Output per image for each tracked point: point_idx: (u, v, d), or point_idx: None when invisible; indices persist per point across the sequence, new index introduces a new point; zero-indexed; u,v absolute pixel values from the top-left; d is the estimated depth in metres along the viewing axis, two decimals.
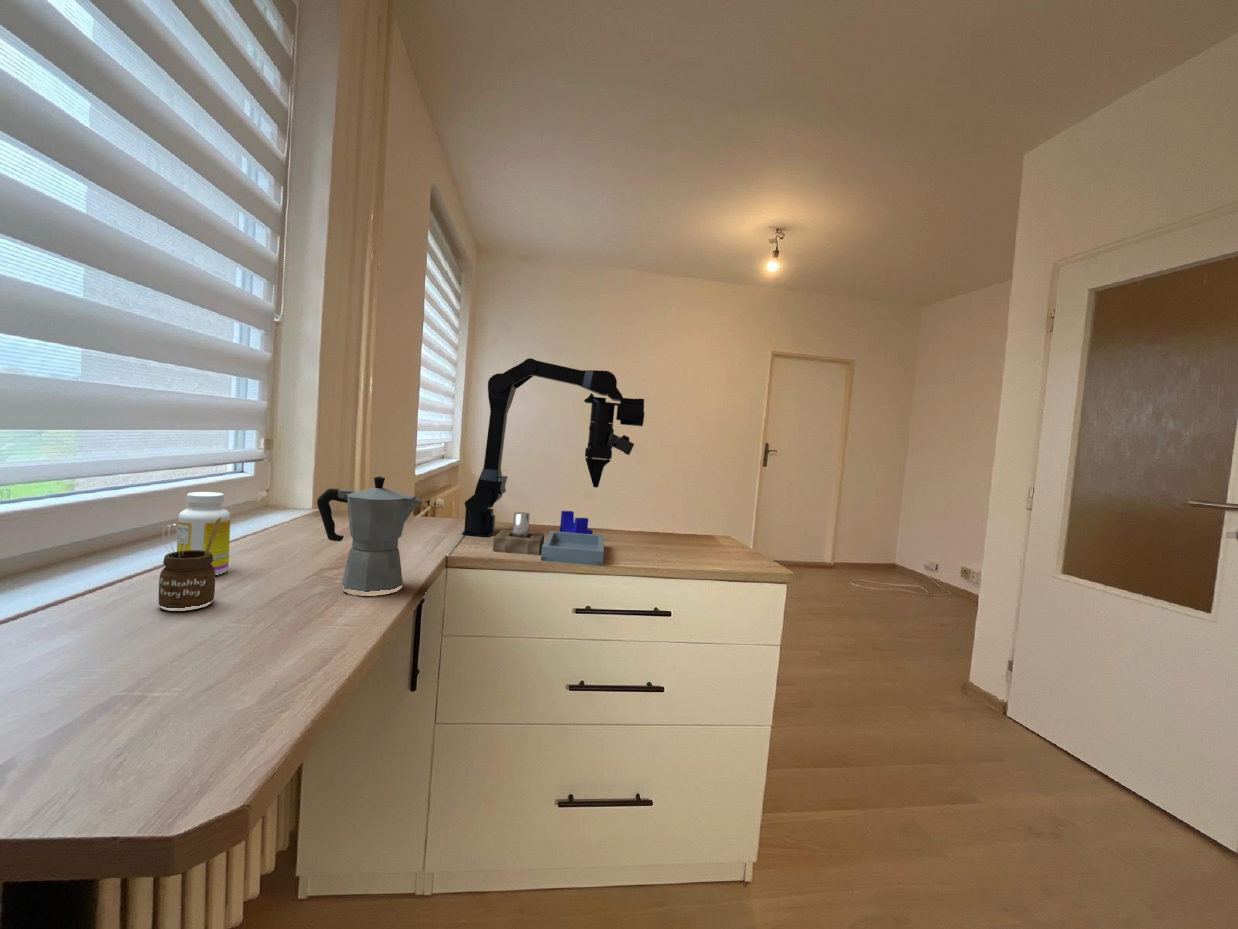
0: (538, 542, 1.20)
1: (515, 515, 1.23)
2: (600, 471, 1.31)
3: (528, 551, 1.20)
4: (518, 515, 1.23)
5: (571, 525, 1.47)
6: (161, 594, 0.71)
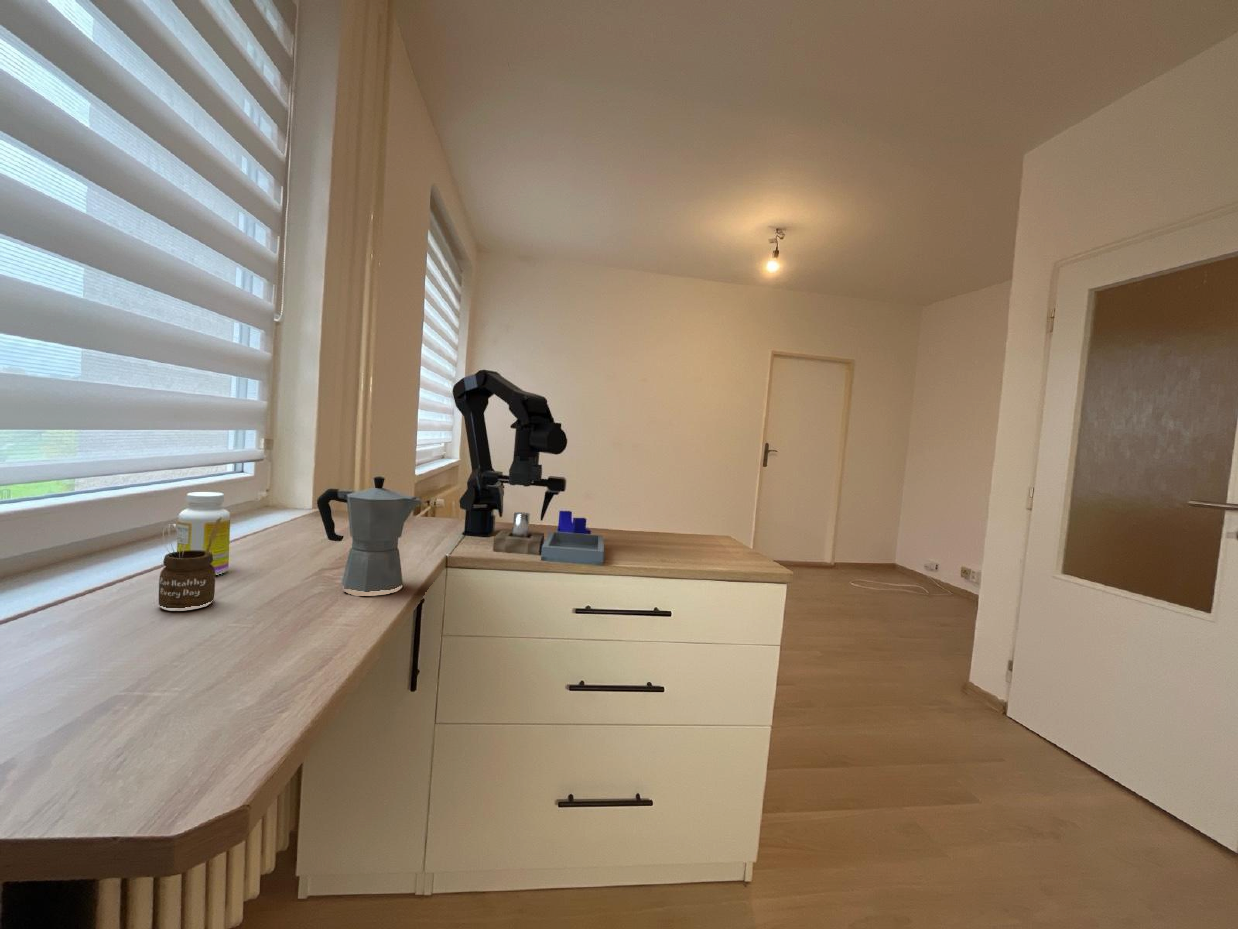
0: (538, 542, 1.20)
1: (515, 515, 1.23)
2: None
3: (528, 551, 1.20)
4: (518, 515, 1.23)
5: (569, 525, 1.46)
6: (161, 594, 0.71)
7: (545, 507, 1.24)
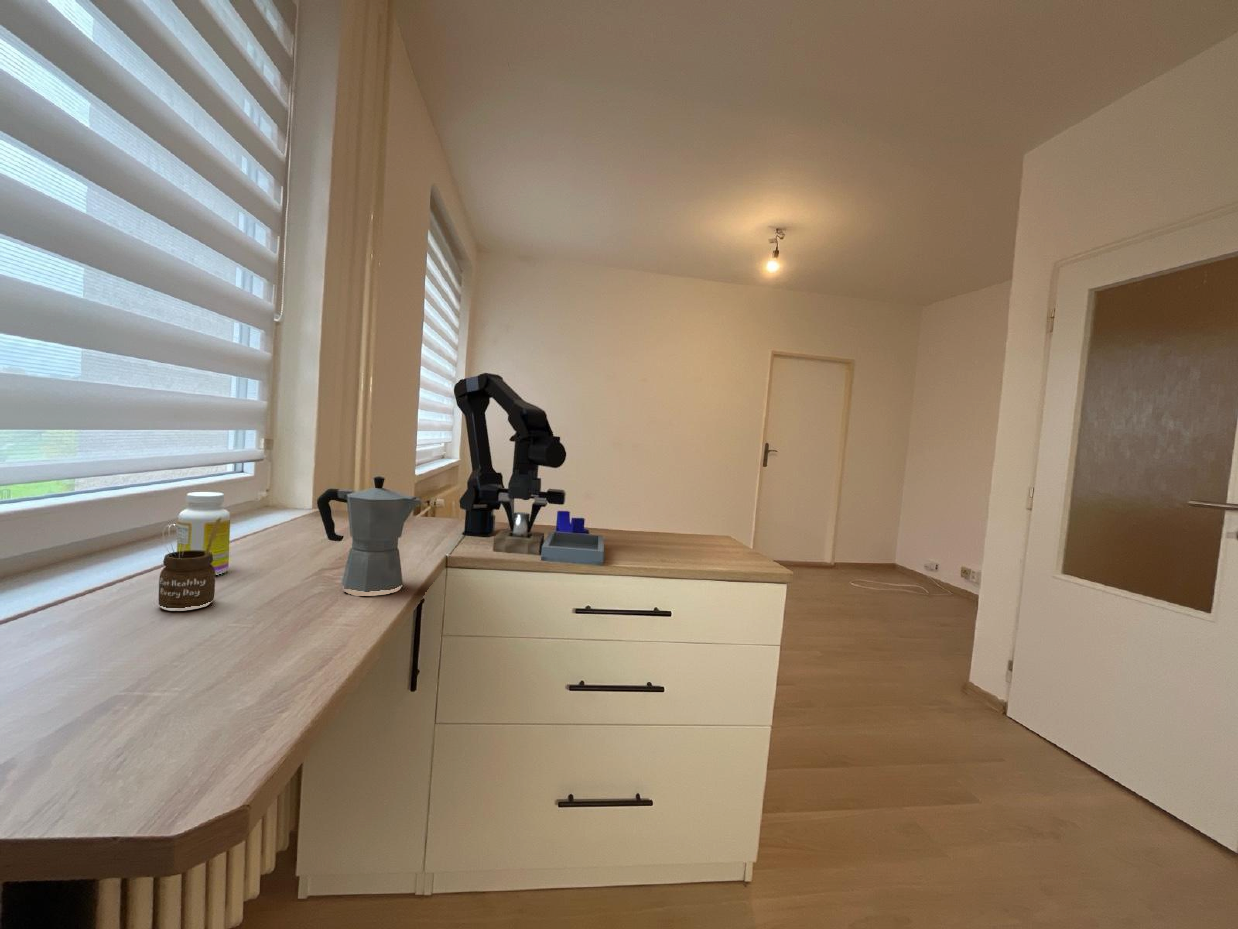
0: (538, 542, 1.20)
1: (515, 515, 1.23)
2: None
3: (528, 551, 1.20)
4: (518, 515, 1.23)
5: (567, 525, 1.46)
6: (161, 594, 0.71)
7: (532, 519, 1.24)
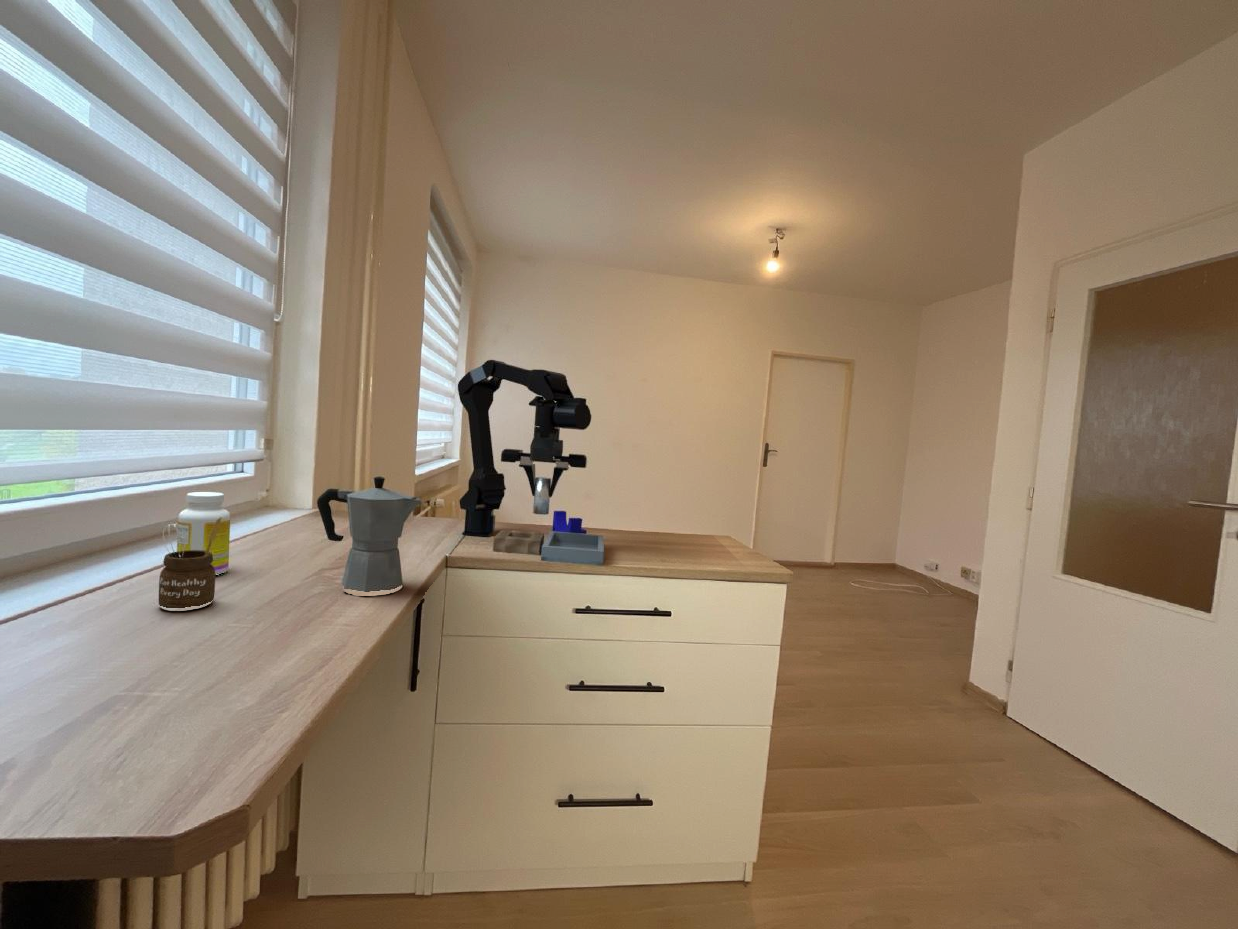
0: (538, 542, 1.20)
1: (536, 479, 1.22)
2: None
3: (528, 551, 1.20)
4: (540, 479, 1.22)
5: (564, 525, 1.46)
6: (161, 594, 0.71)
7: (554, 483, 1.23)
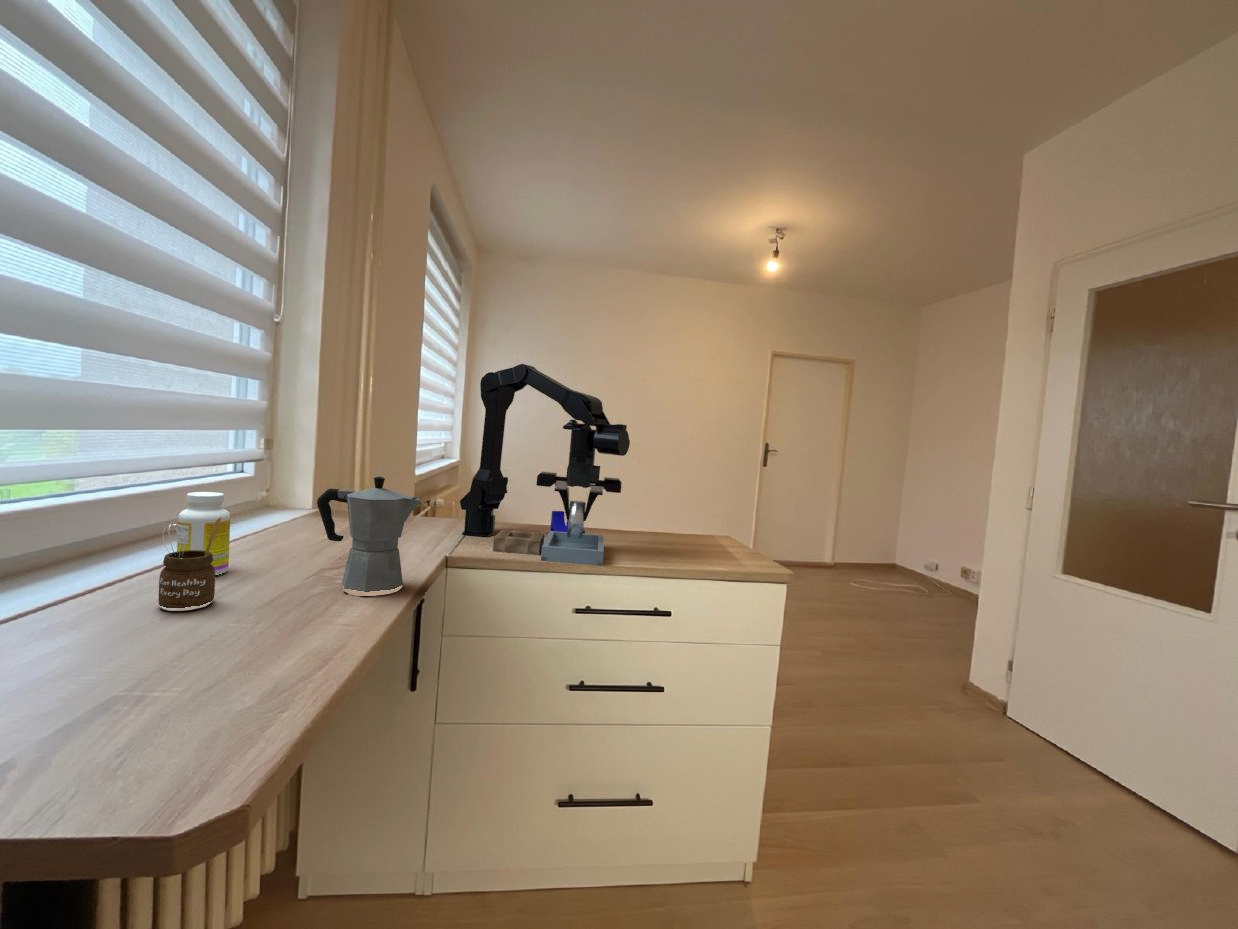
0: (538, 542, 1.20)
1: (571, 503, 1.23)
2: None
3: (528, 551, 1.20)
4: (575, 503, 1.22)
5: (562, 525, 1.45)
6: (161, 594, 0.71)
7: (589, 507, 1.23)
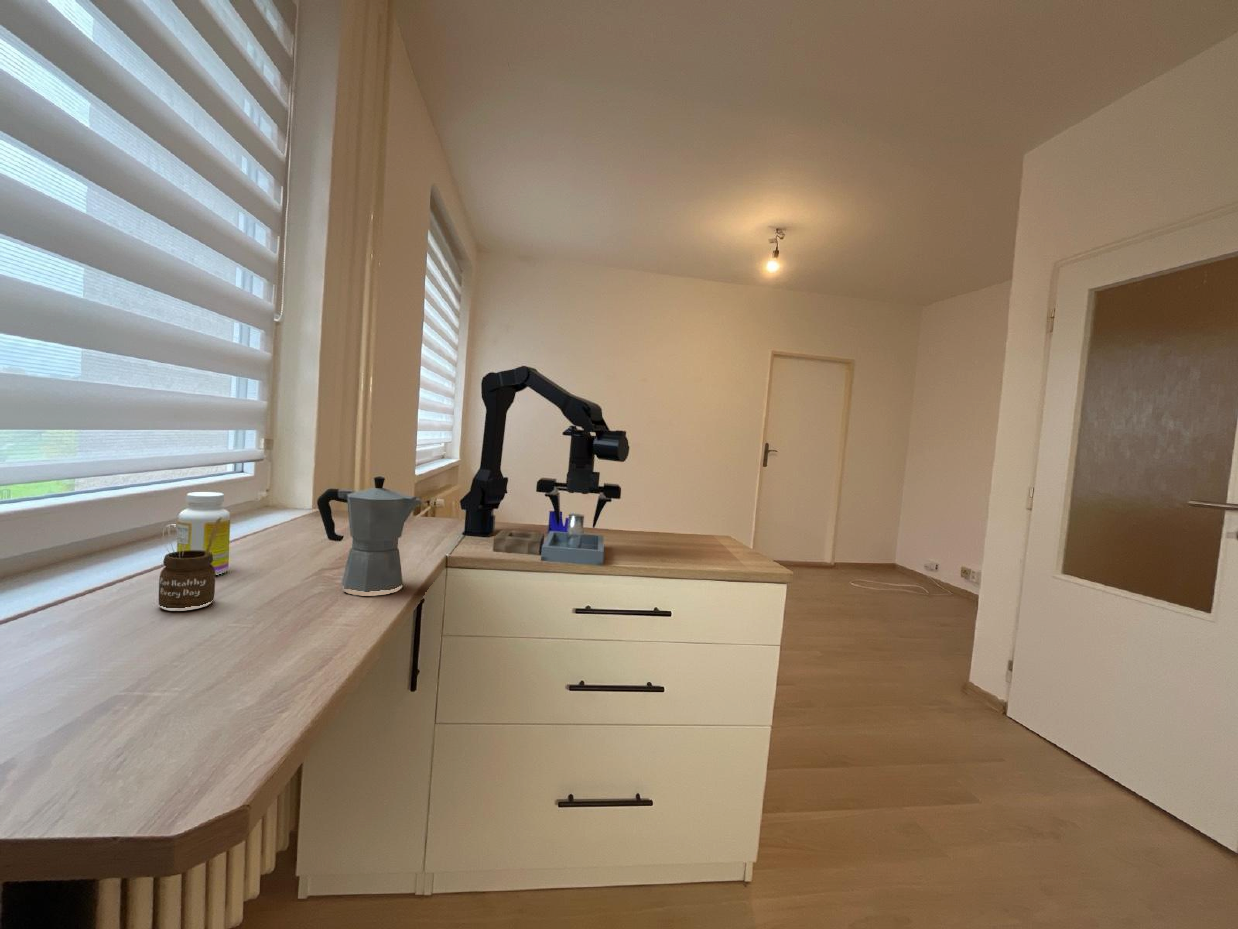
0: (538, 542, 1.20)
1: (570, 517, 1.23)
2: None
3: (528, 551, 1.20)
4: (573, 517, 1.22)
5: (560, 525, 1.45)
6: (161, 594, 0.71)
7: (598, 514, 1.23)
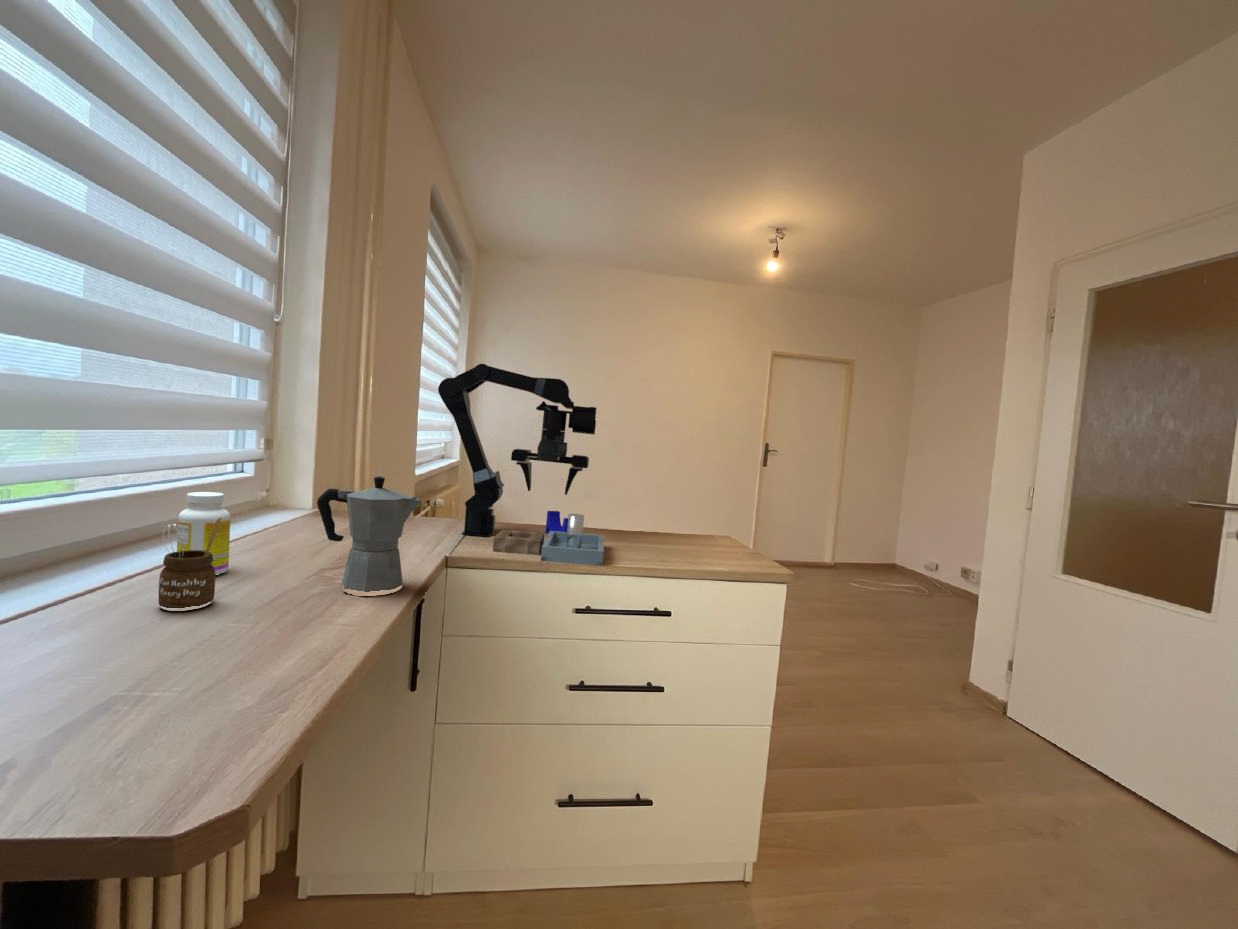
0: (538, 542, 1.20)
1: (570, 517, 1.23)
2: None
3: (528, 551, 1.20)
4: (573, 517, 1.22)
5: (558, 525, 1.44)
6: (161, 594, 0.71)
7: (569, 482, 1.36)
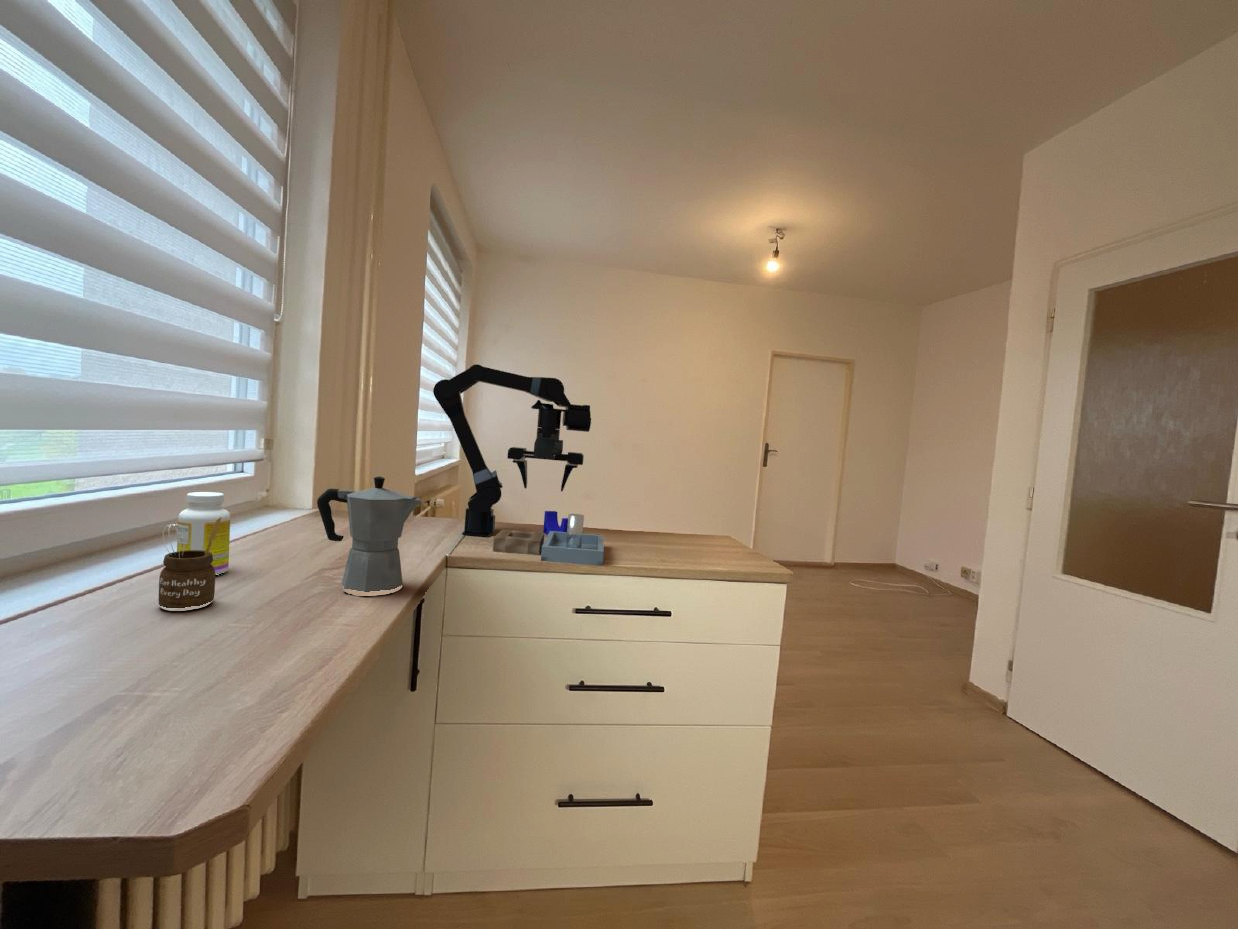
0: (538, 542, 1.20)
1: (570, 517, 1.23)
2: None
3: (528, 551, 1.20)
4: (573, 517, 1.22)
5: (555, 525, 1.44)
6: (161, 594, 0.71)
7: (565, 479, 1.38)
